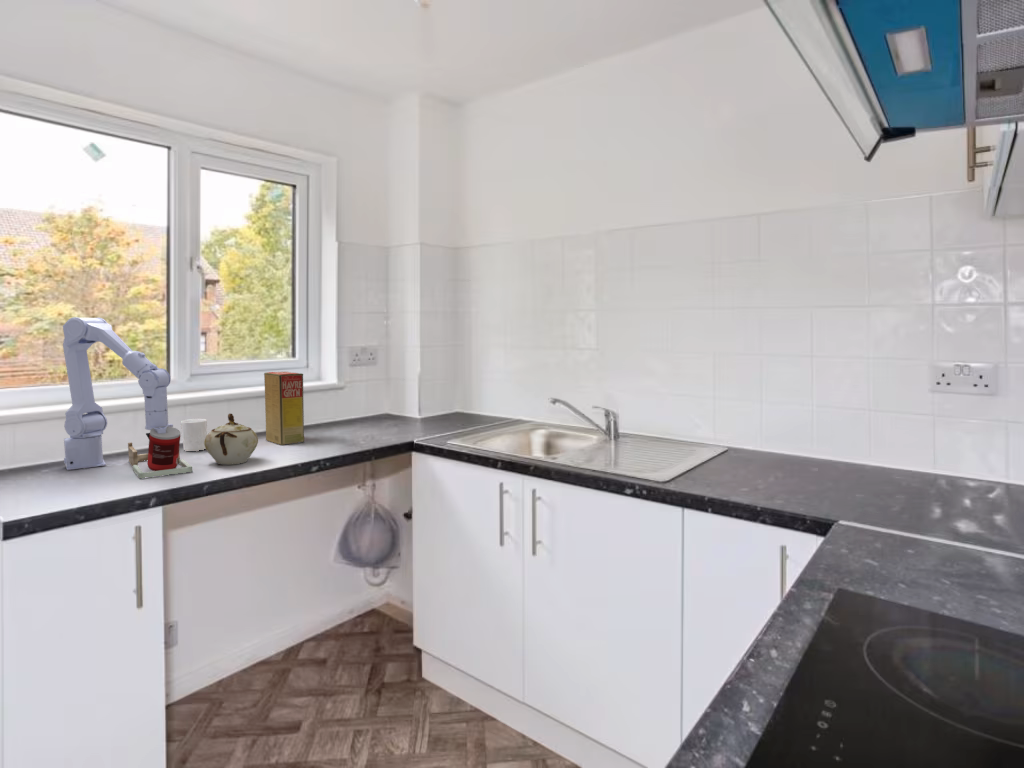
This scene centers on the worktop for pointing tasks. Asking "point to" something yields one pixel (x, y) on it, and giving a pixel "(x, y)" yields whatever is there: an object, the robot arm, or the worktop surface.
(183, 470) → the bay
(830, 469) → the worktop surface
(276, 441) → the food packaging
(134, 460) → the holder
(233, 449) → the sugar bowl
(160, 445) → the canned food
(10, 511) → the worktop surface
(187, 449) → the white cup
